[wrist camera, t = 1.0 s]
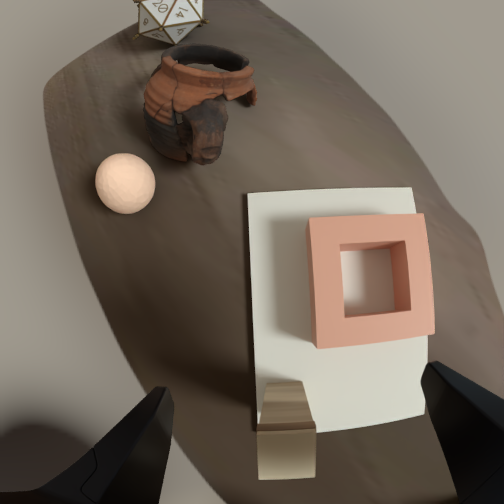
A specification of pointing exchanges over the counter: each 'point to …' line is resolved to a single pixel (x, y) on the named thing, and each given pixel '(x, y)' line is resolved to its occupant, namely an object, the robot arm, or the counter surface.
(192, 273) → the counter surface
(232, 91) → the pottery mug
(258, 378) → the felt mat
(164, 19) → the game die
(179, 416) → the counter surface
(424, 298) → the pink square ring
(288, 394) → the dowel
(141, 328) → the counter surface
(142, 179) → the egg
